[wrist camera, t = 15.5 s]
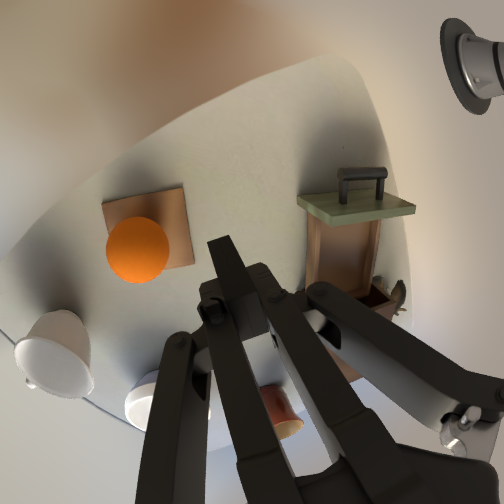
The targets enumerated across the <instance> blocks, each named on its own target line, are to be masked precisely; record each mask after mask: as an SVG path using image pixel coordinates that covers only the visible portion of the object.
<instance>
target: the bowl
mask: <svg viewBox="0 0 504 504" xmlns="http://www.w3.org/2000/svg"><path fill="white" fill-rule="evenodd" d="M158 371H159V370H155V371H152V372H149V373H148V374H146V375H145V376H144V377H143V378H142V379H141V380H140V381H138V382H137V383H136V385H135V386H134V387H133V388H132V390H131V391H130V393H129V394H128V396H127V397H126V402H125V413H126V417H127V419H128V420H129V421H130V422H131V423H132V424H133V425H134V426H136V427H137V428H139V429H141V430H143V431H146V428H147V423H148V418H149V413H150V408H151V403H152V398H153V394H154V389H155V385H156V380H157V376H158ZM210 416H211V411H210V404H209V417H208V421H209V419H210Z"/></svg>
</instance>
